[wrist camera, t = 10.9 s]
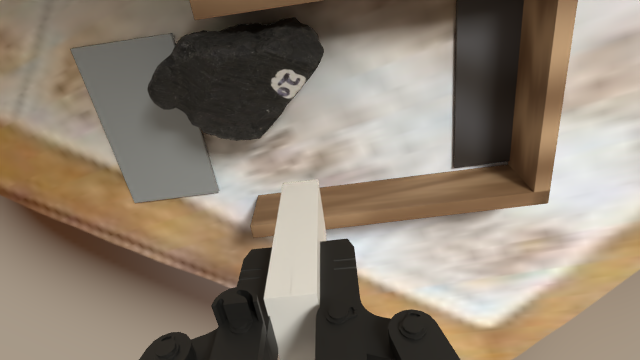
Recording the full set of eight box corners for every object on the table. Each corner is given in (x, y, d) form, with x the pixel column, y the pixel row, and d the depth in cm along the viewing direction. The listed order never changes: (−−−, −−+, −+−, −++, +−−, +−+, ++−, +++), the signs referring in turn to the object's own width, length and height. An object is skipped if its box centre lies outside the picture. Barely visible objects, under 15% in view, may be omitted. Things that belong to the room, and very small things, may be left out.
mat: (72, 48, 31) (70, 48, 31) (171, 33, 31) (170, 33, 30) (136, 201, 38) (134, 203, 37) (218, 190, 37) (218, 192, 37)
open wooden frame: (208, -6, 29) (189, -1, 25) (544, -59, 28) (587, -64, 23) (261, 206, 38) (253, 237, 34) (520, 174, 36) (547, 203, 32)
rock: (115, 12, 25) (222, 85, 21) (244, -18, 32) (343, 35, 28) (135, 113, 31) (223, 185, 27) (242, 70, 37) (324, 123, 33)
